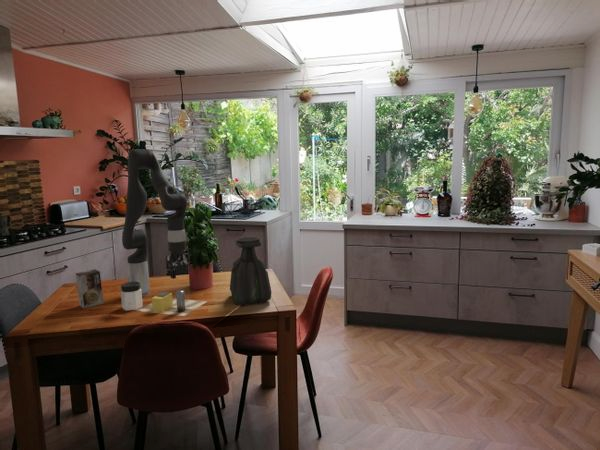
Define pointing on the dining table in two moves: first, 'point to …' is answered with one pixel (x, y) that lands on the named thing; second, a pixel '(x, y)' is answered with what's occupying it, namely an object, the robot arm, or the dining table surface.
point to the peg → (180, 301)
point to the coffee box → (89, 288)
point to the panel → (189, 307)
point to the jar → (131, 296)
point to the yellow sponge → (162, 302)
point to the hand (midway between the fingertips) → (179, 275)
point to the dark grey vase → (249, 275)
